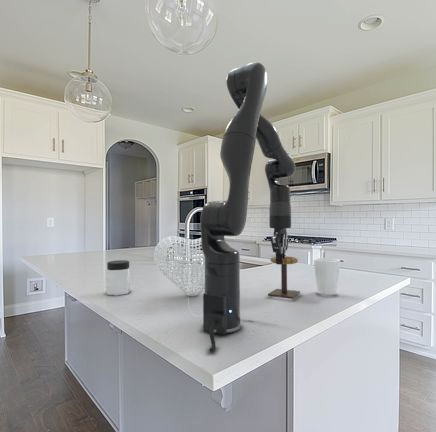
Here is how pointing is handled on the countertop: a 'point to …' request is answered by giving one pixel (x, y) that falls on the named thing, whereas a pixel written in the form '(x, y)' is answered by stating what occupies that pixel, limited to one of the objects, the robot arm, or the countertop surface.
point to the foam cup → (326, 275)
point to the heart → (170, 239)
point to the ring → (286, 260)
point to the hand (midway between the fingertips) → (280, 263)
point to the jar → (118, 277)
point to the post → (284, 286)
